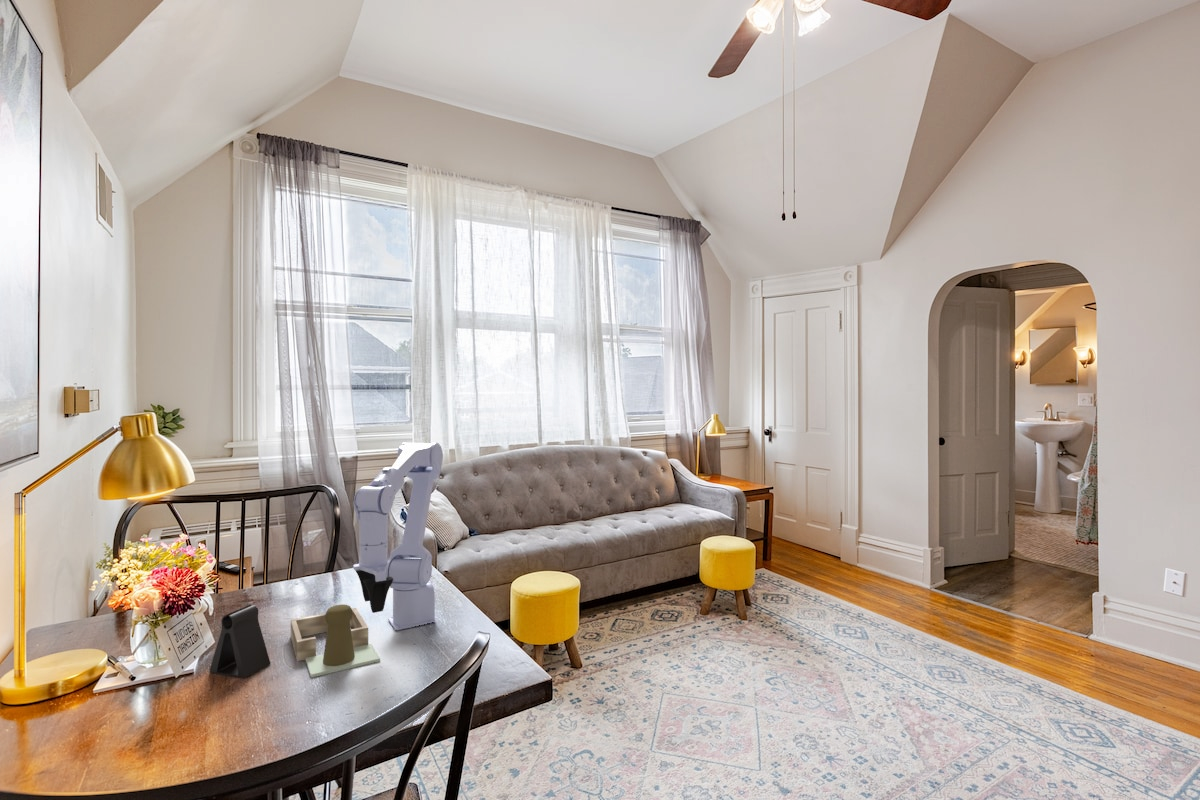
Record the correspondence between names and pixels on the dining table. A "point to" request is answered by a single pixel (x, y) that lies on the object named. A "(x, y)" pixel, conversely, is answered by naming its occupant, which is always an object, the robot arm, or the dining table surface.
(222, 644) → the black triangular stand
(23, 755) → the dining table surface
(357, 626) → the access bay
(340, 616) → the olive game pawn
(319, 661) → the sage mat
